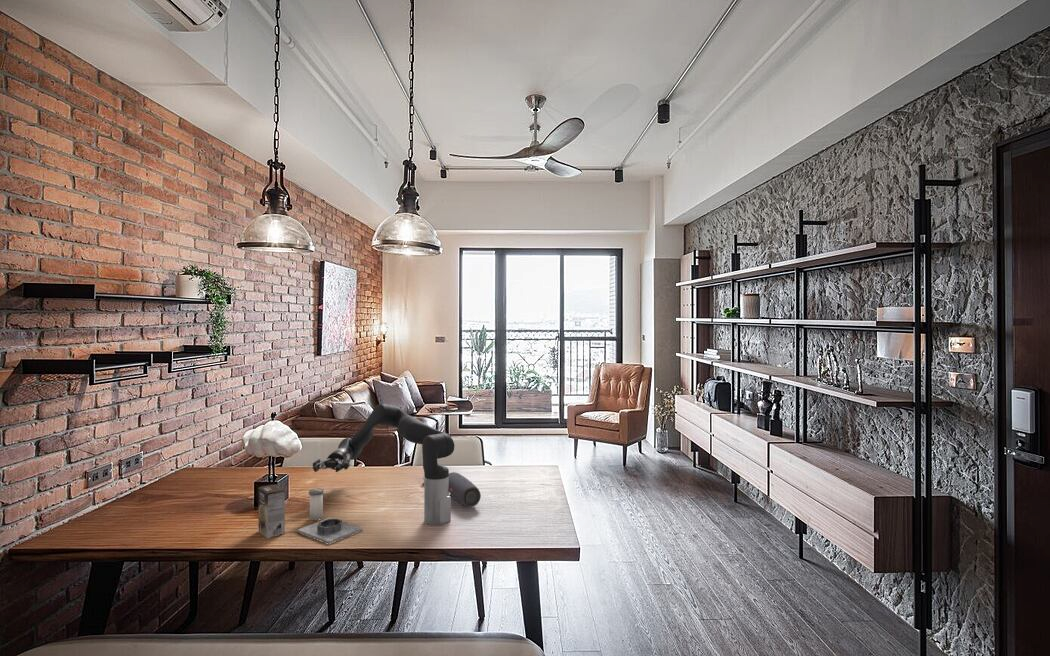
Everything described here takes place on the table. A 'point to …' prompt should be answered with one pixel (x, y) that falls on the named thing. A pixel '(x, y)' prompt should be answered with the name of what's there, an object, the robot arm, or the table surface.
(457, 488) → the bluetooth speaker
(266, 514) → the coffee box
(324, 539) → the hub plate
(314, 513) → the grey capped jar
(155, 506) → the table surface
